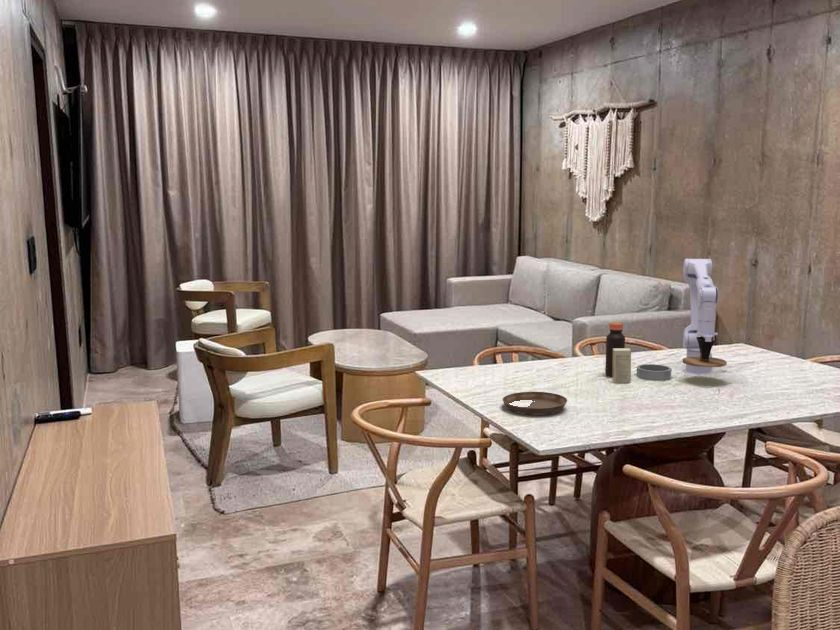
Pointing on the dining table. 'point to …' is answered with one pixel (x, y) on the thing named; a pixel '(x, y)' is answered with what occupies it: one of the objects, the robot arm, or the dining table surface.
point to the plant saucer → (536, 402)
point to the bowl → (654, 372)
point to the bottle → (613, 344)
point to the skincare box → (621, 365)
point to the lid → (704, 361)
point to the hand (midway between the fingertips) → (704, 357)
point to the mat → (703, 381)
